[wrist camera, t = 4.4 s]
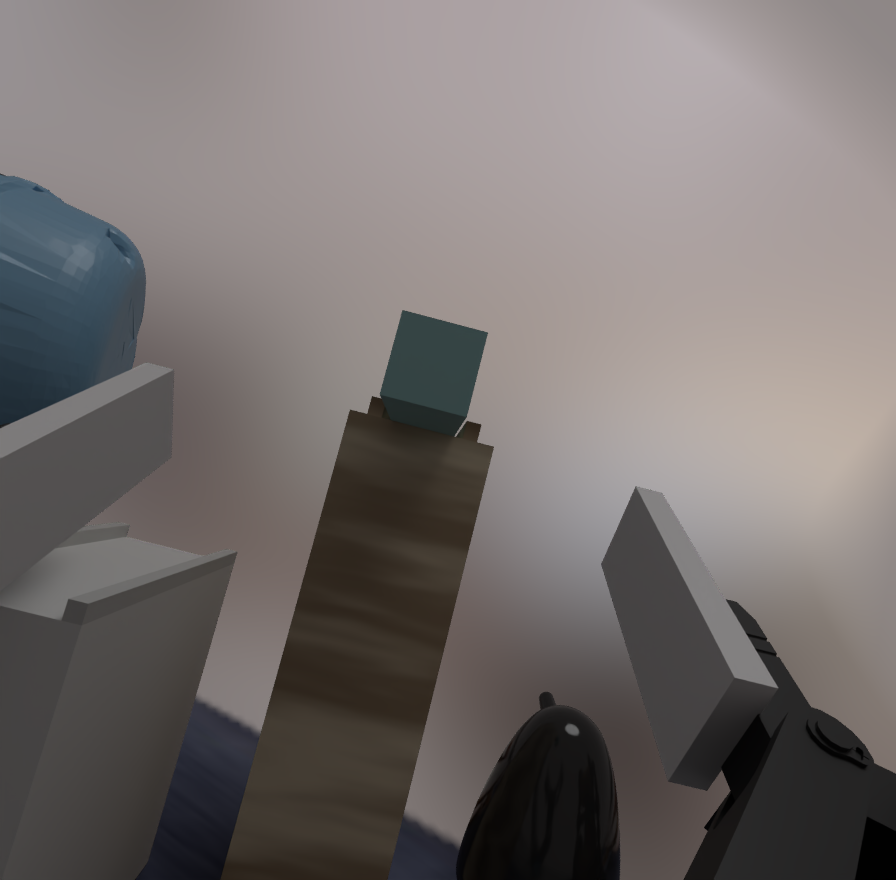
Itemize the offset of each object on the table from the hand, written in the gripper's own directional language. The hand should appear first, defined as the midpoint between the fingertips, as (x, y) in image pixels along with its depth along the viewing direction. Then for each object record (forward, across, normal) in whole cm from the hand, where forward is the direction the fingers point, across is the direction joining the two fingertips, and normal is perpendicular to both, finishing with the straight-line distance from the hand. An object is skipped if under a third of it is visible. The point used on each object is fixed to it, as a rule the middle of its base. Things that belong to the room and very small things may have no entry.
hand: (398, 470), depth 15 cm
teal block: (+16, 0, +6) cm, 17 cm away
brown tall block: (+4, 0, +33) cm, 33 cm away
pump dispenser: (+5, -14, +34) cm, 38 cm away
